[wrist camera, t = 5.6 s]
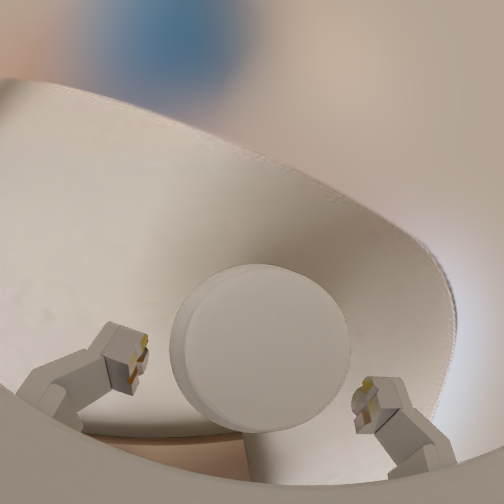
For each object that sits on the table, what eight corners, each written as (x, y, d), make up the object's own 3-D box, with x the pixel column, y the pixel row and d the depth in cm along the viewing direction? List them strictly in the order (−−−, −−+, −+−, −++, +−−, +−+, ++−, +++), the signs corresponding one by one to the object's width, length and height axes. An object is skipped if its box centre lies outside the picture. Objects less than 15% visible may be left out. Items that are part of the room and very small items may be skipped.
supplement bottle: (217, 285, 17) (213, 199, 7) (303, 322, 16) (403, 285, 7) (178, 370, 15) (113, 403, 5) (267, 407, 15) (330, 482, 5)
